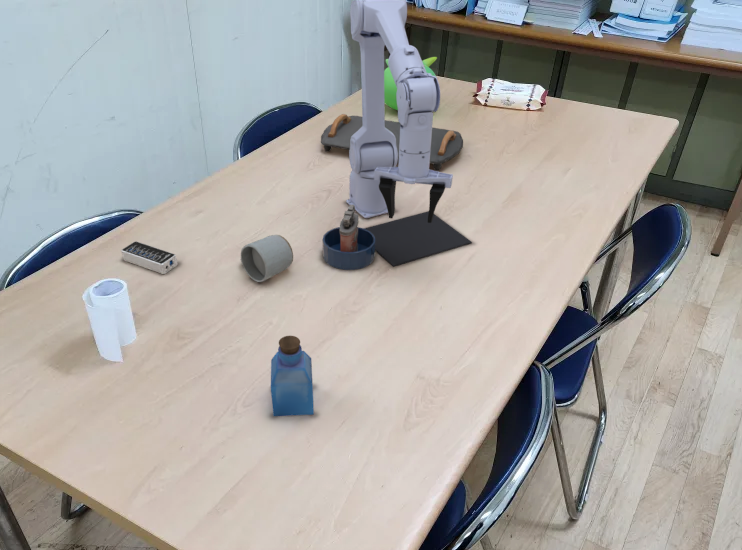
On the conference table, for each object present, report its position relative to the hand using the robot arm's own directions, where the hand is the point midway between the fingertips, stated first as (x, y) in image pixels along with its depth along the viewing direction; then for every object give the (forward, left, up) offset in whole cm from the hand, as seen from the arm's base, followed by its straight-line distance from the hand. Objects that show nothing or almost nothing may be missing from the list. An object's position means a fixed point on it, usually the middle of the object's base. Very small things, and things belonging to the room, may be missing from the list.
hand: (410, 218), depth 125 cm
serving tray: (-53, +29, -11) cm, 61 cm away
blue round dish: (-9, -9, -11) cm, 16 cm away
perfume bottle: (+25, -38, -11) cm, 47 cm away
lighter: (-9, -9, -10) cm, 16 cm away
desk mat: (-9, +7, -11) cm, 15 cm away
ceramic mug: (-12, -27, -11) cm, 31 cm away
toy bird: (-76, +49, -11) cm, 91 cm away
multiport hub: (-26, -46, -11) cm, 54 cm away
